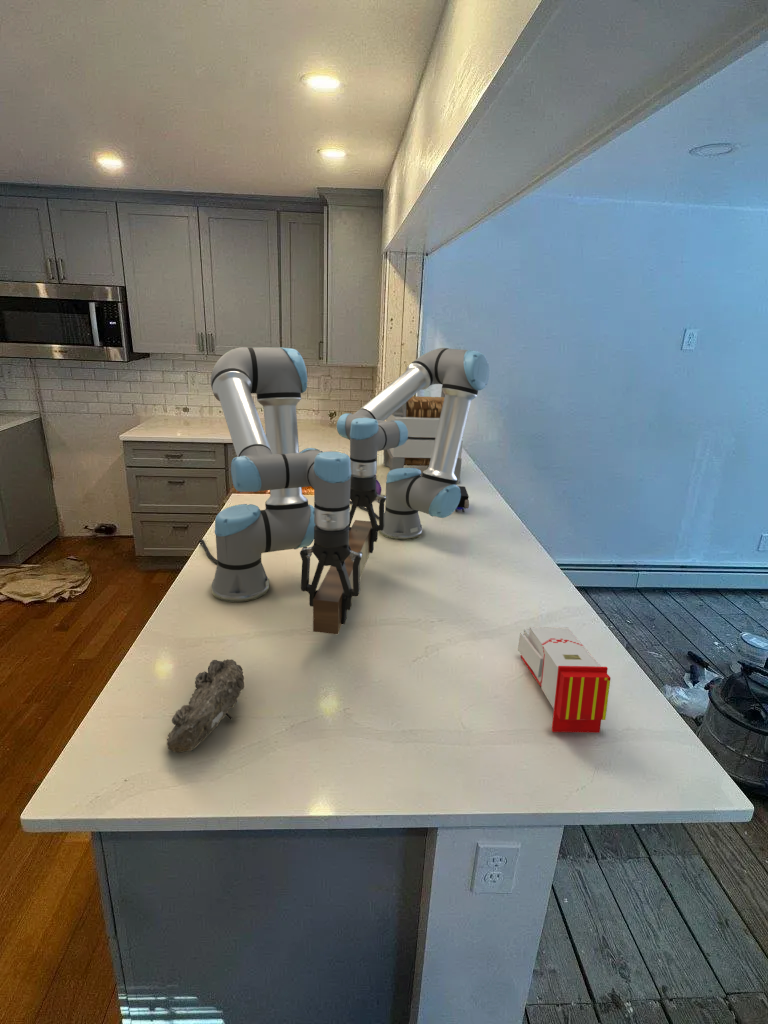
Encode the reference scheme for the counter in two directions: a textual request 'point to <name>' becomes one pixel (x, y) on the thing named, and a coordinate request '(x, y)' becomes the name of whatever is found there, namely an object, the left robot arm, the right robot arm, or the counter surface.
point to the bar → (339, 582)
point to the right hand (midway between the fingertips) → (360, 550)
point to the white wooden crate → (418, 433)
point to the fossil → (206, 705)
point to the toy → (566, 678)
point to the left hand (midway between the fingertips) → (330, 619)
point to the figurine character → (463, 499)
